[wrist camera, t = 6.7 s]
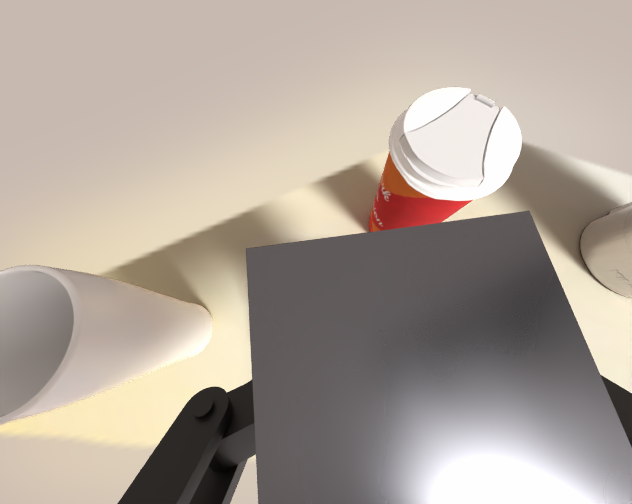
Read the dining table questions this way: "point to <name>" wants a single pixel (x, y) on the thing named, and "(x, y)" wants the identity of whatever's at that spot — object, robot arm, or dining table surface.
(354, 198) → the dining table surface
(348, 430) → the column
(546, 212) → the dining table surface
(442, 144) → the paper cup
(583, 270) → the dining table surface
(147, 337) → the drinking glass
